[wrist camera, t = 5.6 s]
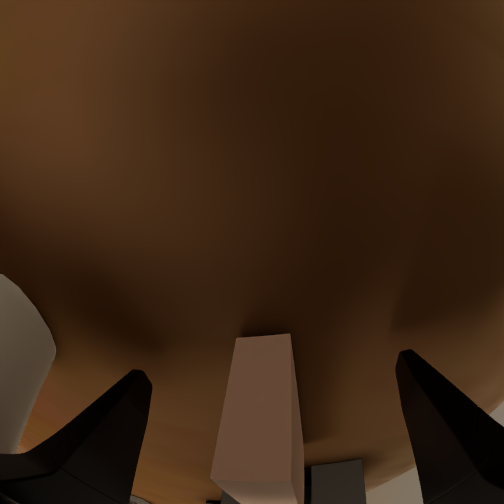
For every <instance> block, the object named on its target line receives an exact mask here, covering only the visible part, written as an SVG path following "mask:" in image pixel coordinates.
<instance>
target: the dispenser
mask: <svg viewBox="0 0 504 504" xmlns="http://www.w3.org/2000/svg"><path fill="white" fill-rule="evenodd" d="M311 474H312V486H308V487H304V504H366V494H365V484H364V475H363V466H362V459H357V460H352V461H346V462H339V463H332V464H324V465H315V466H311ZM221 504H240V503H239V502H238V501H236V500H235V499H234V498H233V497H231V496H230V495H229V494H228V493H226V492H225V491H224V490H223V492H222V498H221Z"/></svg>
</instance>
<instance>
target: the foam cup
mask: <svg viewBox="0 0 504 504" xmlns="http://www.w3.org/2000/svg"><path fill="white" fill-rule="evenodd" d="M55 355H56V345H55V343H54V340H53V337H52V335H51V332H50V329H49V328H48V326H47V325H46V323H45V322H44V320H43V318H42V317H41V315H40V314H39V312H38V310H37V309H36V307H35V306H34V305H33V304H32V302H31V301H30V300H29V299H28V298H27V297H26V295H25V294H24V293H23V292H22V290H21V289H20V288H19V287H18V286H17V285H16V284H14V283H13V282H12V281H10V280H9V279H8V278H7V277H5V276H4V275H3V274H0V453H1V454H16V452H17V449H18V446H19V443H20V440H21V437H22V434H23V431H24V429H25V426H26V423H27V421H28V418H29V415H30V413H31V410H32V408H33V406H34V403H35V401H36V399H37V396H38V394H39V392H40V389H41V387H42V385H43V383H44V381H45V379H46V376H47V374H48V372H49V370H50V368H51V364H52V362H53V361H54V359H55Z"/></svg>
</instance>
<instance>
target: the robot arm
mask: <svg viewBox="0 0 504 504" xmlns="http://www.w3.org/2000/svg"><path fill="white" fill-rule="evenodd" d="M395 372H396V378H397V383H398V388H399V394H400V400H401V406H402V411H403V415H404V418H405V422H406V426H407V429H408V433H409V437H410V441H411V445H412V449H413V453H414V457H415V462H416V466H417V470H418V476H419V481H420V485H421V491H422V497H423V503H424V504H504V427H503V426H502V425H500V424H499V423H498V422H496V421H495V420H494V419H493V418H491V417H490V416H489V415H488V414H487V413H485V412H484V411H483V410H482V409H481V408H480V407H478V406H477V405H476V404H475V403H474V402H473V401H472V400H471V399H469V398H468V397H467V396H466V395H465V394H464V393H463V392H461V391H460V390H459V389H458V388H457V387H456V386H454V385H453V384H452V383H451V382H450V381H449V380H447V379H446V378H445V377H444V376H443V375H442V374H440V373H439V372H438V371H437V370H436V369H435V368H433V367H432V366H431V365H430V364H429V363H427V362H426V361H425V360H424V359H423V358H421V357H420V356H419V355H418V354H417V353H415V352H414V351H413V350H411V349H408V350H404V351H401V352H400V353H399V355H398V359H397V363H396V367H395ZM151 394H152V384H151V382H150V380H149V379H148V377H147V376H146V374H145V373H144V371H142V370H136V369H134V370H131V371H130V372H129V373H128V374H127V375H125V376H124V377H123V378H122V379H121V380H119V381H118V382H117V383H116V384H115V385H113V386H112V387H111V388H110V389H109V390H108V391H106V392H105V393H104V394H103V395H102V396H100V397H99V398H98V399H97V400H96V401H94V402H93V403H92V404H91V405H90V406H88V407H87V408H86V409H85V410H84V411H82V412H81V413H80V414H79V415H78V416H76V417H75V418H74V419H73V420H72V421H71V422H69V423H68V424H67V425H65V426H64V427H63V428H62V429H60V430H59V431H58V432H57V433H55V434H54V435H52V436H51V437H50V438H48V439H47V440H45V441H44V442H42V443H41V444H39V445H37V446H36V447H34V448H33V449H31V450H30V451H28V452H25V453H21V454H1V453H0V504H129V501H130V496H131V491H132V486H133V481H134V477H135V472H136V468H137V463H138V459H139V454H140V450H141V446H142V442H143V438H144V434H145V430H146V426H147V421H148V415H149V408H150V401H151ZM206 504H221V503H220V502H211V501H206Z"/></svg>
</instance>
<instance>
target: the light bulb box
mask: <svg viewBox="0 0 504 504" xmlns="http://www.w3.org/2000/svg"><path fill="white" fill-rule="evenodd" d="M129 504H150V503H148V502H146V501H145V500H143V499H141V498H138V497H136V496H133V495H131V496H130V501H129Z"/></svg>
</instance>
